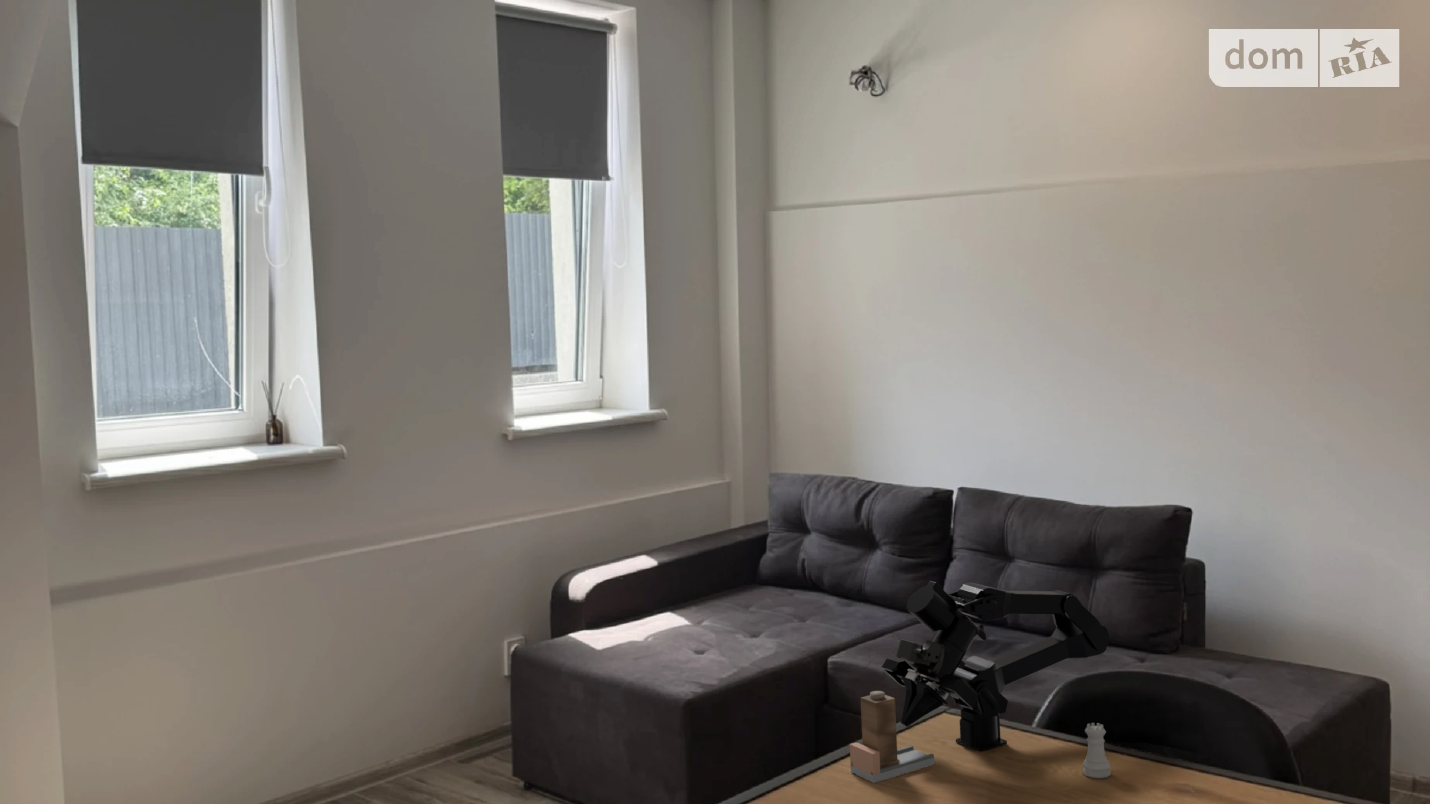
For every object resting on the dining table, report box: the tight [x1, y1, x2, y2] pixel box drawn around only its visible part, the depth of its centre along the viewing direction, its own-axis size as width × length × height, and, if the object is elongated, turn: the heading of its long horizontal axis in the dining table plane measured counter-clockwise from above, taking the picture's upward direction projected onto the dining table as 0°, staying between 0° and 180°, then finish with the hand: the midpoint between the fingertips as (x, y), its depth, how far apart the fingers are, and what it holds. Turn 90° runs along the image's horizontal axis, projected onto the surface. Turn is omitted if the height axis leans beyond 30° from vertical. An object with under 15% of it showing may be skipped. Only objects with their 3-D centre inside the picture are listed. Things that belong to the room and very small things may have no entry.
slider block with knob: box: [860, 690, 900, 769], centre depth 196 cm, size 5×4×12 cm
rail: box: [849, 742, 936, 784], centre depth 198 cm, size 13×6×5 cm, turn 121°
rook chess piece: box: [1082, 722, 1112, 780], centre depth 191 cm, size 4×4×8 cm
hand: (903, 724), depth 199 cm, fingers closed
